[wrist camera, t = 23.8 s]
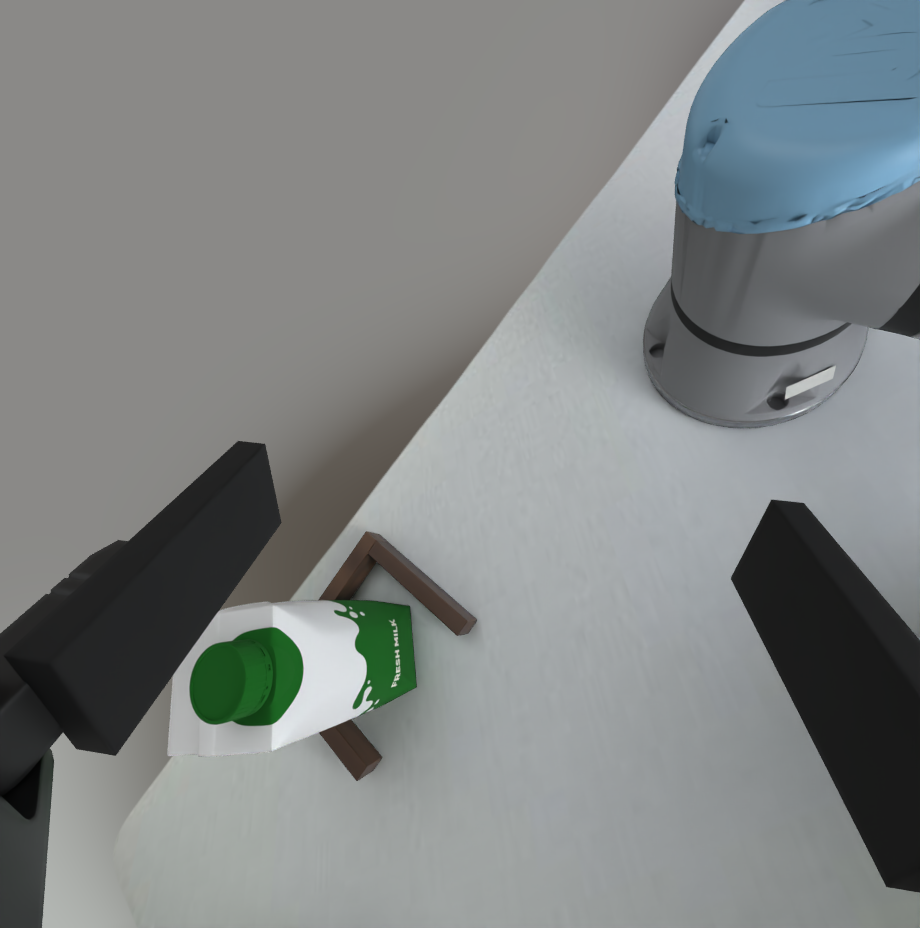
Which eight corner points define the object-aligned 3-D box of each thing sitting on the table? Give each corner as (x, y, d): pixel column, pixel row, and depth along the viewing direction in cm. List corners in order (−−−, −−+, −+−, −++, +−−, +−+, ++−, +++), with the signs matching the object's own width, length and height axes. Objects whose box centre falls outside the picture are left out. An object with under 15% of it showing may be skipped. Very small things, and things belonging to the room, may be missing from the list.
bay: (379, 534, 46) (366, 531, 44) (477, 619, 40) (467, 621, 38) (287, 666, 46) (269, 669, 43) (372, 771, 40) (356, 781, 38)
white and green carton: (427, 697, 40) (250, 779, 22) (339, 704, 43) (118, 782, 25) (418, 593, 43) (254, 591, 25) (336, 606, 45) (135, 612, 28)
